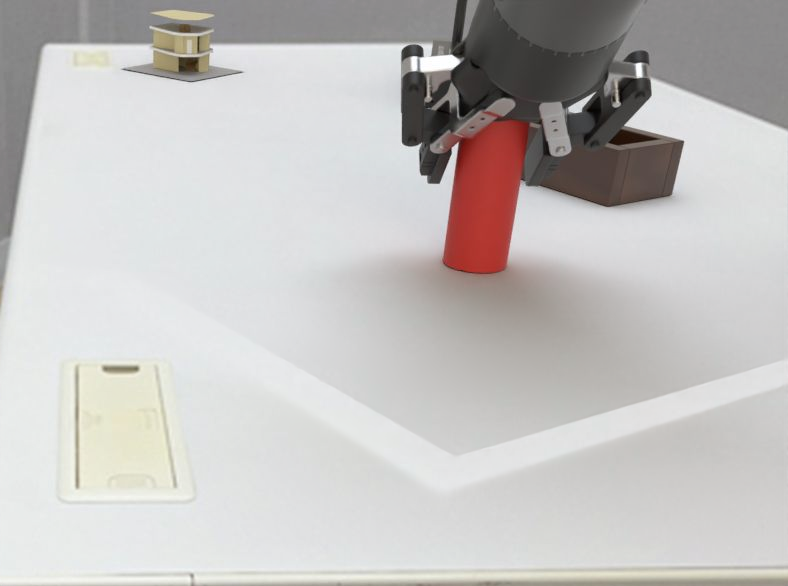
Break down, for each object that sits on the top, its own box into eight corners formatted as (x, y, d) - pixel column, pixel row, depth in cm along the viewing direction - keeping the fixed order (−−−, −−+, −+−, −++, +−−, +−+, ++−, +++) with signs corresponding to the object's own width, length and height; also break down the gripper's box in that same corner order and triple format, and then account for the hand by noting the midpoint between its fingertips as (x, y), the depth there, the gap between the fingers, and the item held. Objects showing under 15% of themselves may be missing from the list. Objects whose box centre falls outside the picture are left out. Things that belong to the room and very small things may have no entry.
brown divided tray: (545, 157, 101) (553, 107, 99) (672, 195, 92) (685, 140, 90) (482, 167, 98) (489, 115, 96) (607, 206, 89) (619, 150, 86)
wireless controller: (551, 115, 116) (587, -88, 107) (406, 105, 118) (429, -95, 109) (540, 79, 133) (570, -99, 124) (413, 71, 135) (433, -105, 126)
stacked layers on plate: (120, 68, 131) (120, 13, 128) (174, 59, 137) (175, 6, 134) (190, 81, 126) (192, 24, 123) (243, 71, 132) (246, 16, 129)
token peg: (475, 250, 79) (500, 87, 73) (519, 267, 76) (548, 99, 70) (429, 259, 77) (451, 92, 71) (473, 277, 74) (499, 104, 69)
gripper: (708, -81, 59) (591, 121, 76) (419, -90, 59) (365, 115, 76) (720, 53, 58) (598, 230, 74) (423, 44, 58) (367, 224, 74)
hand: (481, 171), depth 75 cm, fingers open, 5 cm apart
